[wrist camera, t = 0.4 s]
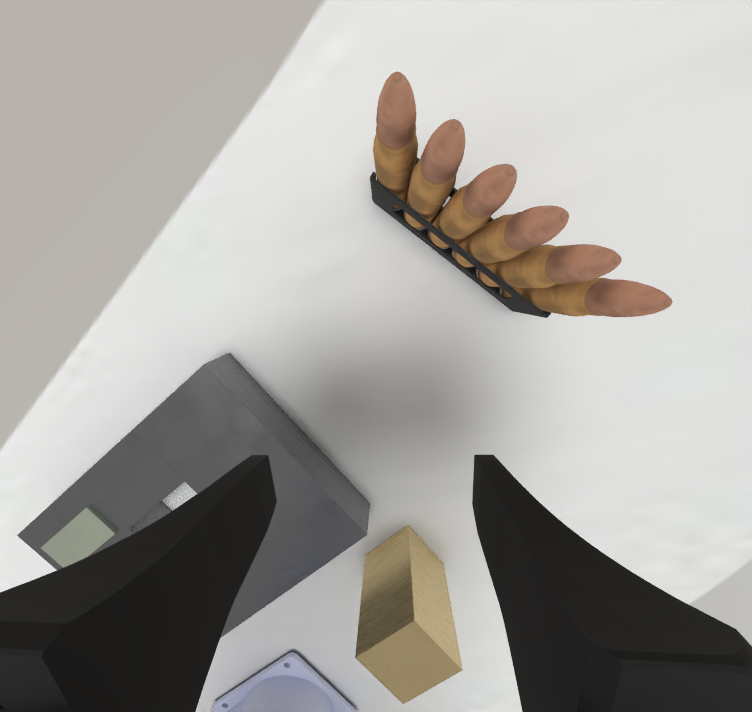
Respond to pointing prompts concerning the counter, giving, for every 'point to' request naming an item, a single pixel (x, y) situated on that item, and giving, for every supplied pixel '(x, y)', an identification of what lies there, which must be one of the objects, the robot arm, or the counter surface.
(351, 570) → the counter surface
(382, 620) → the brass peg
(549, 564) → the robot arm
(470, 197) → the ammunition clip
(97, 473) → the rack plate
